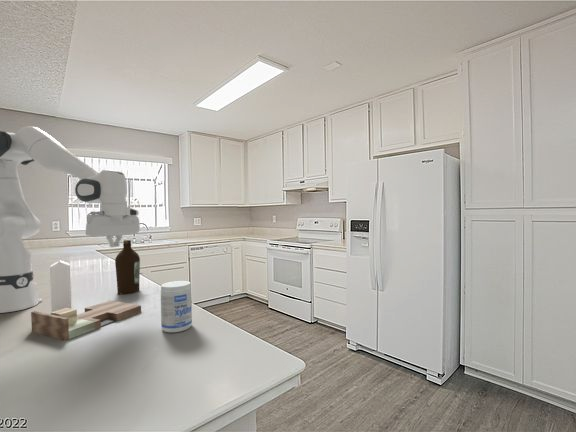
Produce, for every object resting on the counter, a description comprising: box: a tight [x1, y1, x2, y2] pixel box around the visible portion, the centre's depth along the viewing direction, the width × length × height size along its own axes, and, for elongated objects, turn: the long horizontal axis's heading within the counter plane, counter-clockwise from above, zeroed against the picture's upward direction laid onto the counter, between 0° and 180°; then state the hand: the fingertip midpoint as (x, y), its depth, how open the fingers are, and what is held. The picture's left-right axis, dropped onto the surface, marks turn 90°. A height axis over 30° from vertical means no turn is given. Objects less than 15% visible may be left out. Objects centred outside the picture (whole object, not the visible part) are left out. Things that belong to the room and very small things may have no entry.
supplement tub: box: [160, 280, 193, 334], centre depth 99 cm, size 10×10×15 cm
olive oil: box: [114, 239, 141, 295], centre depth 145 cm, size 11×11×25 cm
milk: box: [49, 259, 72, 312], centre depth 114 cm, size 6×6×22 cm
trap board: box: [30, 300, 142, 341], centre depth 107 cm, size 18×27×6 cm, turn 156°
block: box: [50, 307, 78, 324], centre depth 98 cm, size 5×5×4 cm
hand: (114, 246), depth 117 cm, fingers closed
